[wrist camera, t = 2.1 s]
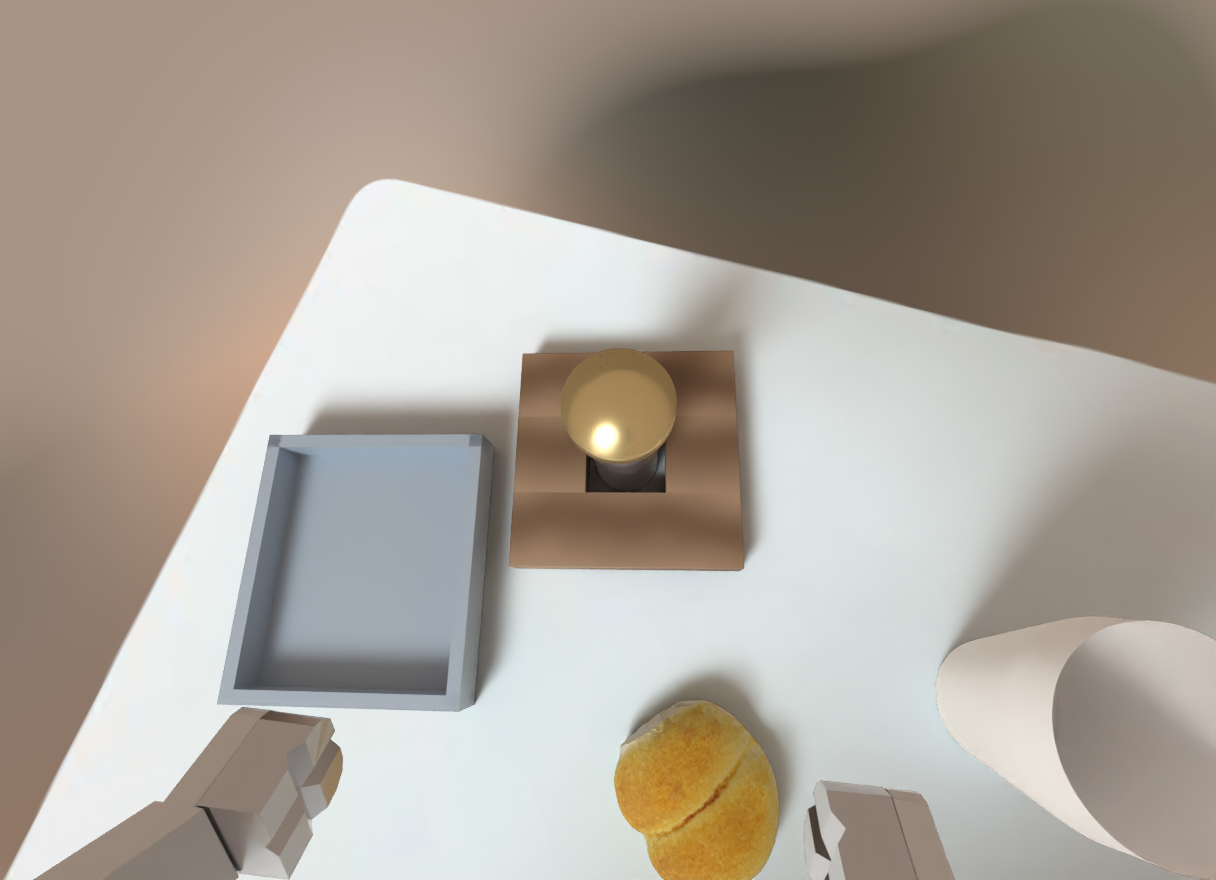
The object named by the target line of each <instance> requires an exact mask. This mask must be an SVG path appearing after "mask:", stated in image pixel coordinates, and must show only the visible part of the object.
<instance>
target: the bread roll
mask: <svg viewBox="0 0 1216 880" xmlns="http://www.w3.org/2000/svg"><path fill="white" fill-rule="evenodd" d="M614 785H615V790H616V796H617V800H618V804H619V807H620V809H621V812H622V814H623V815H624V817H625V818H626V820H627V821H628V822H629V824H630V825H631V826H632V827H633V828H634V829H636V830H637V831H639V832H641V833H642V834H643V836H644V838H645V840H646V843H647V850H648V854H649V857H650V860H651V863H652V864H653V866H654V868H655V869H656V870H657V872H658V873H659V875H660V876H661V878H663V879H664V880H751V879H753V878H754V877H755V876H756V875H757V874H758V873H759V872H760V871H761V870H762V868H763V867H764V866H765V864H766V862H767V860H768V858H769V856H770V854H771V852H772V849H773V846H774V843H775V838H776V835H777V830H778V822H779V798H778V791H777V786H776V781H775V776H774V773H773V770H772V767H771V764H770V762H769V760H768V758H767V756H766V754H765V752H764V751H763V749H762V748H761V746H760V745H759V744H758V743H757V742H756V740H755V739H754V738H753V737H752V736H751V734H750V733H749V732H748V731H747V729H746V728H745V727H744V726H743V725H742V724H741V723H740V722H739V721H738V720H737V719H736V718H735V717H734V716H733V715H732V714H730V713H729V712H728V711H726V710H725V709H723V708H721V707H719V706H718V705H715V704H713V703H711V702H709V701H705V700H689V701H678V702H676V703H675V704H673V705H671V706H669V707H668V708H666V709H665V710H663V711H661V712H660V713H658V714H656V715H655V716H654V717H652V718H651V719H650V720H649V721H648V722H647V723H644V724H643V725H642V726H641V727H640V728H639V729H638V730H637V731H636V732H635V733H634V734H633V735H630V736H629V737H628V738H627V739H626V740H625V742H624V743H623V744H622V745H621V751H620V758H619V761H618V763H617V767H616V771H615V777H614Z"/></svg>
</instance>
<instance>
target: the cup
mask: <svg viewBox="0 0 1216 880" xmlns="http://www.w3.org/2000/svg"><path fill="white" fill-rule="evenodd" d="M936 701H937V706H938V710H939V713H940V716H941V718H942V720H943V722H944V724H945V726H946V728H947V729H948V731H949V733H950V734H951V735H952V737H953V738H954V739H955V740H956V741H957V742H958V743H959V744H960V745H961V746H962V747H963V748H964V749H965V750H966V751H968V752H969V753H970V754H972V755H973V756H974V757H976V758H977V759H978V760H980V761H981V762H982V763H984V764H985V765H986V766H988V767H989V768H990V769H992V770H993V771H995V772H996V773H997V774H999V775H1000V776H1001V777H1003V778H1004V779H1005V780H1007V781H1008V782H1009V783H1011V784H1012V785H1013V786H1015V787H1016V788H1017V789H1019V790H1020V791H1021V792H1023V793H1024V794H1025V795H1027V796H1028V797H1030V798H1031V799H1032V800H1034V801H1035V802H1036V803H1038V804H1039V805H1040V806H1042V807H1043V808H1044V809H1046V810H1047V811H1048V812H1050V813H1051V814H1053V815H1054V816H1055V817H1057V818H1058V819H1059V820H1061V821H1062V822H1063V823H1065V824H1066V825H1068V826H1069V827H1071V828H1072V829H1074V830H1076V831H1077V832H1079V833H1081V834H1082V835H1084V836H1086V837H1088V838H1090V839H1091V840H1093V841H1095V842H1098V843H1100V844H1102V845H1104V846H1107V847H1110V848H1113V849H1116V850H1119V851H1122V852H1124V853H1127V854H1129V855H1132V856H1134V857H1137V858H1139V859H1142V860H1144V861H1146V862H1149V863H1151V864H1153V865H1156V866H1158V867H1161V868H1163V869H1165V870H1168V871H1171V872H1174V873H1177V874H1181V875H1185V876H1189V877H1194V878H1202V879H1216V640H1214V639H1212V638H1211V637H1209V636H1206V635H1204V634H1202V633H1200V632H1198V631H1195V630H1192V629H1189V628H1187V627H1183V626H1180V625H1176V624H1171V623H1166V622H1159V621H1147V620H1133V619H1120V618H1111V617H1101V616H1084V617H1074V618H1068V619H1063V620H1058V621H1054V622H1049V623H1045V624H1040V625H1036V626H1032V627H1028V628H1023V629H1019V630H1015V631H1010V632H1006V633H1002V634H998V635H993V636H989V637H985V638H981V639H976V640H972V641H969V642H966V643H964V644H962V645H960V646H958V647H957V648H955V649H954V650H953V651H952V652H951V653H950V654H949V655H948V656H947V657H946V658H945V660H944V661H943V663H942V665H941V667H940V669H939V672H938V676H937V680H936Z"/></svg>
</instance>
